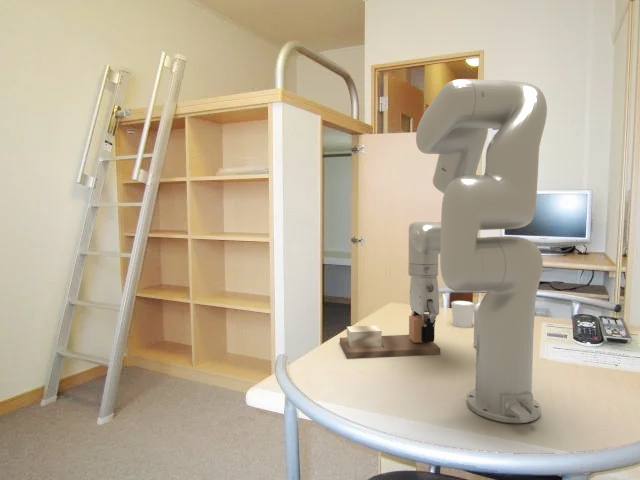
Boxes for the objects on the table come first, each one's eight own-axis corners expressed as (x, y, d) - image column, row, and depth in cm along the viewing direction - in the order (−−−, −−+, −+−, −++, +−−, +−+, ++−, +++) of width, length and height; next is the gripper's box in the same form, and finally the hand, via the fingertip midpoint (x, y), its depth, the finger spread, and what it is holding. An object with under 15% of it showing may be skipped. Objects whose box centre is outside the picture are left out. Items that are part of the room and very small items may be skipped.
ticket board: (347, 358, 108) (347, 336, 107) (339, 343, 120) (339, 323, 119) (440, 354, 110) (440, 332, 110) (423, 339, 122) (424, 319, 122)
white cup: (446, 323, 138) (446, 301, 138) (465, 321, 140) (465, 299, 140) (459, 329, 132) (459, 306, 131) (479, 327, 134) (479, 304, 133)
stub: (413, 342, 114) (414, 319, 113) (408, 337, 117) (409, 315, 117) (432, 341, 114) (432, 318, 114) (427, 337, 118) (427, 315, 117)
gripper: (450, 274, 106) (449, 347, 108) (425, 264, 123) (424, 327, 125) (420, 275, 105) (419, 348, 107) (399, 265, 122) (398, 328, 124)
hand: (422, 336), depth 116 cm, fingers open, 7 cm apart
